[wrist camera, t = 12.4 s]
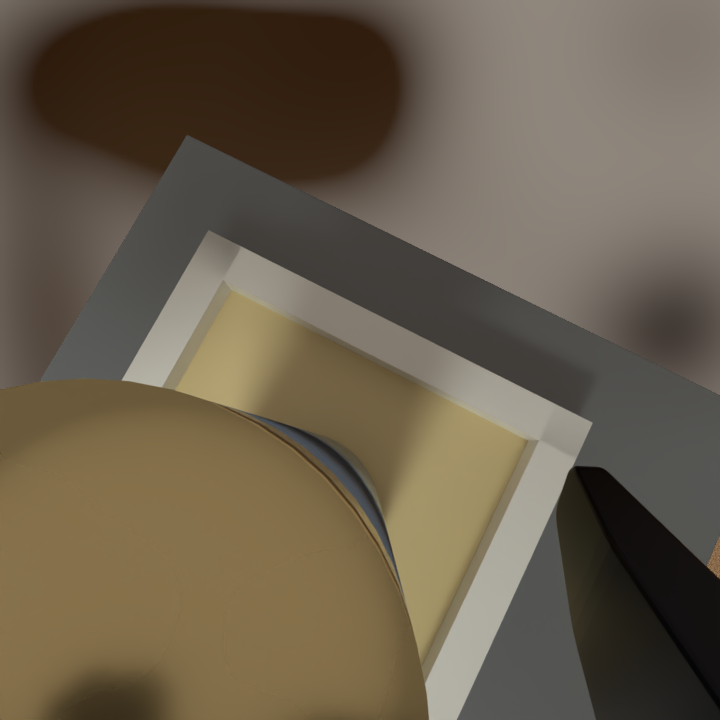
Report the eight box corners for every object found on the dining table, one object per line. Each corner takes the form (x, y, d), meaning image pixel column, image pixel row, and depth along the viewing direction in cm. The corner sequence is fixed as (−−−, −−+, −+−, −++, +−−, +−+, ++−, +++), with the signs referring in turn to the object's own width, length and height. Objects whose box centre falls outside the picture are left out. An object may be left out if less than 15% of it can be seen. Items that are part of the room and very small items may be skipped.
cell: (220, 616, 15) (-326, 1244, 3) (204, 443, 16) (-300, 426, 4) (391, 592, 15) (487, 1126, 3) (368, 421, 16) (376, 335, 4)
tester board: (357, 1309, 14) (355, 1507, 12) (-246, 917, 16) (-372, 1013, 13) (733, 421, 17) (800, 416, 15) (201, 159, 19) (173, 111, 16)
